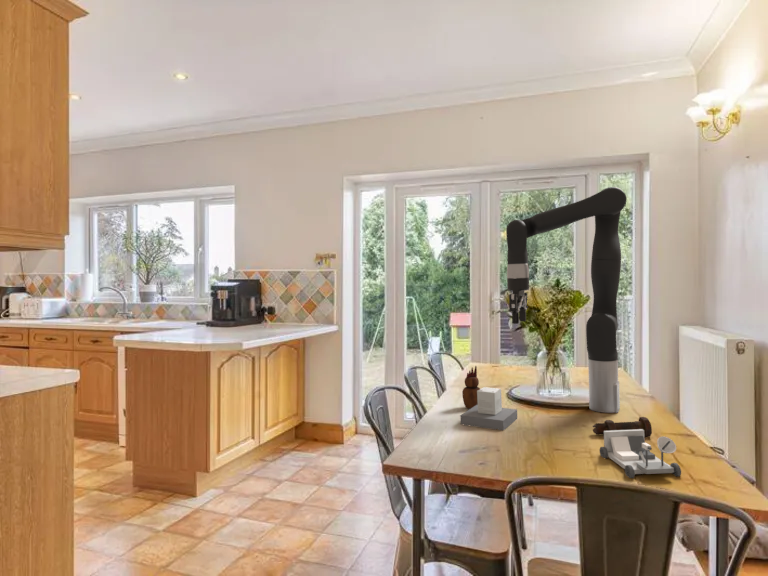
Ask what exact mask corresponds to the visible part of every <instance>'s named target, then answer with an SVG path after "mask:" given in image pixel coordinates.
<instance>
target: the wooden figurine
mask: <svg viewBox="0 0 768 576" xmlns="http://www.w3.org/2000/svg"><path fill="white" fill-rule="evenodd" d="M477 368H478V367H477V365H475V366H474V368H473V367H471V370H469V372H467V373H466V377H465V378H464V385H465V387H463V389H462V392H461V394H462V401H463V404H464V406H465V408H466V409H468V410H469V409H471V408H472V407H474V406H475V405H478V401H477V391H478V390H480V389H481V388H480V387H479V385H480V384H479V383H480V381H479V378H478V376H477V375H478V374H477V373H478V372H477Z"/></svg>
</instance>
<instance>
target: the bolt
mask: <svg viewBox="0 0 768 576" xmlns="http://www.w3.org/2000/svg"><path fill="white" fill-rule="evenodd" d="M634 429H643V430H644V437H645V438H650V437H651V436H652V434H653V433H652V431H653V429H652V423H651V421H650V420H649V418H648V417H645V416H639V417H638V421H637V420H636V421H623V422H622V421H621V422H614V421H613V420H612V419H606V420H605V421H604V422H600V423H597V422H596V423H594V425H592V432H593V433H594V434H595V435H598V436H601V435H603V436H604V431H611V430H634Z"/></svg>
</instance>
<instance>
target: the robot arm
mask: <svg viewBox="0 0 768 576" xmlns="http://www.w3.org/2000/svg"><path fill="white" fill-rule="evenodd" d="M627 200H628V199H627V194H626V193H625V192H624V190H622V188H619V187H614V186H612V187H611V186H609V187H605V188H604V189H602V190H600V191H599V192H596V193H595V194H593V195H590V196H589V197H586V198H584V199H581V200H578V201H575V202H573V203H569V204H565V205H562V206H557V207H556V208H555V207H554V208H551V209H548V210H545V211H542V212H538V213H536V214H534V215H532V216H531V217H527V218H524V219H514V220H512V221H510V222H509V223H508V224H507V226H506V230H505V231H506V233H505V234H506V242H507V243H506V245H507V253H506V254H507V256H506V258H507V259H506V263H507V269H506V282H507V284H506V285H507V286H506V287H507V291H512V293H509V294H508V299H509V300H508V302H509V303H508V306H509V307H508V309H509V312H510V313H511V323H512V324H515V325H518V324H519V323H520V322H526V321H527V310H528V309H529V305H528V306H527V300H528V299H527V298H528V292H525V291H529V290H530V268H529V257H528V255H529V253H528V249H527V247H528V245H527V244H528V243H527V242H528V238H531V237H534V236H536V235H541V234H544V233H547V232H551V231H554V230H557V229H561V228H563V227H566V226H568V225H572V224H573V223H576V222H578V221H581V220H585V219H588V218H591V217H592V218H593V217H594V224H595V225H594V229H595V230H594V237H593V242H592V250H591V263H590V278H591V287H592V293H593V304H592V311H591V316H589V317H588V319H587V321H586V326H585V334H586V335H585V336H586V339H585V340H586V350H587V351H586V352H587V359H588V360H587V362H588V363H587V364H588V397H589V401H588V402H589V403H588V405H589V410H590V411H593V412H597V413H598V412H599V413H606V414H608V413H609V414H610V413H619V411H620V409H621V406H620V405H621V404H620V403H621V402H620V399H621V398H620V397H621V395H620V381H619V359H618V357H619V355H618V354H619V353H618V349H617V331H618V329H619V328H618V327H619V325H618V324H619V322H618V309H617V308H618V306H617V298H618V297H617V296H618V291H619V286H620V280H621V279H620V278H621V277H620V276H621V271H622V269H621V266H622V249H621V243H620V241H621V240H620V237H619V225H620V224H619V223H620V217H621V211H622V210H623V209H624V208H625V206H626V204H627Z"/></svg>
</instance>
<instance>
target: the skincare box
mask: <svg viewBox="0 0 768 576" xmlns="http://www.w3.org/2000/svg"><path fill="white" fill-rule="evenodd" d="M477 401H478V413H482V414H491V415H496V414H498V413H499V412H501V411H502V408H503V407H502V406H503V403H502V402H503V401H502V389H501V388H497V387H495V388H494V387H487V386H483V387H482V388H480V390H478V391H477Z"/></svg>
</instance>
